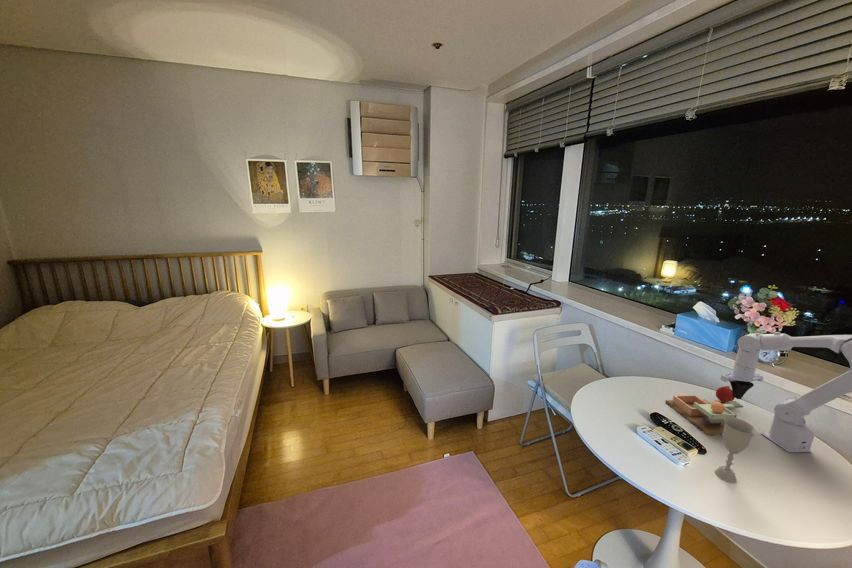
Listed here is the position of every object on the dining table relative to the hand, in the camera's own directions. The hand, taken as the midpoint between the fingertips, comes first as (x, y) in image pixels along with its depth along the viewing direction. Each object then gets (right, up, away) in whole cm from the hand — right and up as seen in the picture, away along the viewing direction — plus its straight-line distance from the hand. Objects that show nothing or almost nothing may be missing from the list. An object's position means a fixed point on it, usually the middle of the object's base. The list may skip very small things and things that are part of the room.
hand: (736, 397), depth 126 cm
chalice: (-27, -16, -25) cm, 40 cm away
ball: (-12, -2, -5) cm, 13 cm away
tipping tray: (-7, -5, -2) cm, 9 cm away
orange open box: (-12, -8, +6) cm, 16 cm away
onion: (+6, -6, +12) cm, 15 cm away
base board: (-10, -8, +3) cm, 13 cm away
